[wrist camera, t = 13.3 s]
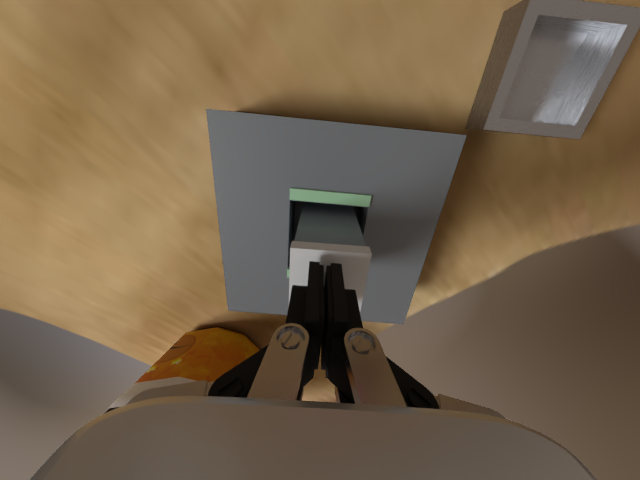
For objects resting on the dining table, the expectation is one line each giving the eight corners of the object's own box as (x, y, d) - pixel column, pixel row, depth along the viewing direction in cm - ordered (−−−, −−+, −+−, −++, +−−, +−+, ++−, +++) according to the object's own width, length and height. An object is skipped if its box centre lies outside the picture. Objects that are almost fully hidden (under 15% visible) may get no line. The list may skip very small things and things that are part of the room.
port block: (234, 111, 19) (204, 108, 14) (433, 131, 19) (468, 135, 15) (244, 277, 26) (227, 312, 21) (389, 289, 26) (404, 325, 22)
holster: (503, 11, 16) (532, -6, 14) (606, 23, 16) (649, 8, 14) (465, 128, 19) (483, 129, 17) (551, 137, 19) (579, 139, 17)
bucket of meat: (157, 384, 35) (-16, 661, 17) (138, 297, 27) (-200, 622, 10) (294, 400, 36) (265, 673, 18) (310, 321, 29) (289, 647, 11)
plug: (303, 195, 21) (290, 247, 12) (351, 199, 21) (371, 254, 12) (301, 238, 23) (288, 310, 14) (345, 241, 23) (359, 315, 14)
